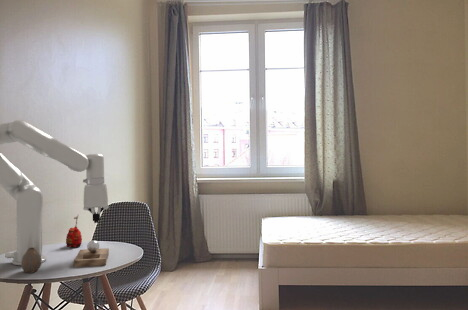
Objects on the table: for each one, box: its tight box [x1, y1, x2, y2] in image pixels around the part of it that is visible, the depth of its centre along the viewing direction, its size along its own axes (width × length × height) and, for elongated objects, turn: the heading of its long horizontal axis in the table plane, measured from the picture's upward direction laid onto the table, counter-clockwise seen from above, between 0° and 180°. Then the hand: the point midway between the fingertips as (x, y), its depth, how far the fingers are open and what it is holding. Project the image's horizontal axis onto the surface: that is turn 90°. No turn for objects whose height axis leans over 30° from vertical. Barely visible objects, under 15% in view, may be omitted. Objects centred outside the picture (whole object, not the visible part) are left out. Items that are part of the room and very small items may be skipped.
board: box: [73, 247, 110, 268], centre depth 170 cm, size 12×18×2 cm, turn 14°
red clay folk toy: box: [65, 215, 83, 249], centre depth 193 cm, size 8×7×15 cm
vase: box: [20, 248, 42, 273], centre depth 154 cm, size 7×7×9 cm
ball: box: [86, 239, 100, 252], centre depth 173 cm, size 5×5×5 cm
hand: (96, 222), depth 180 cm, fingers closed
